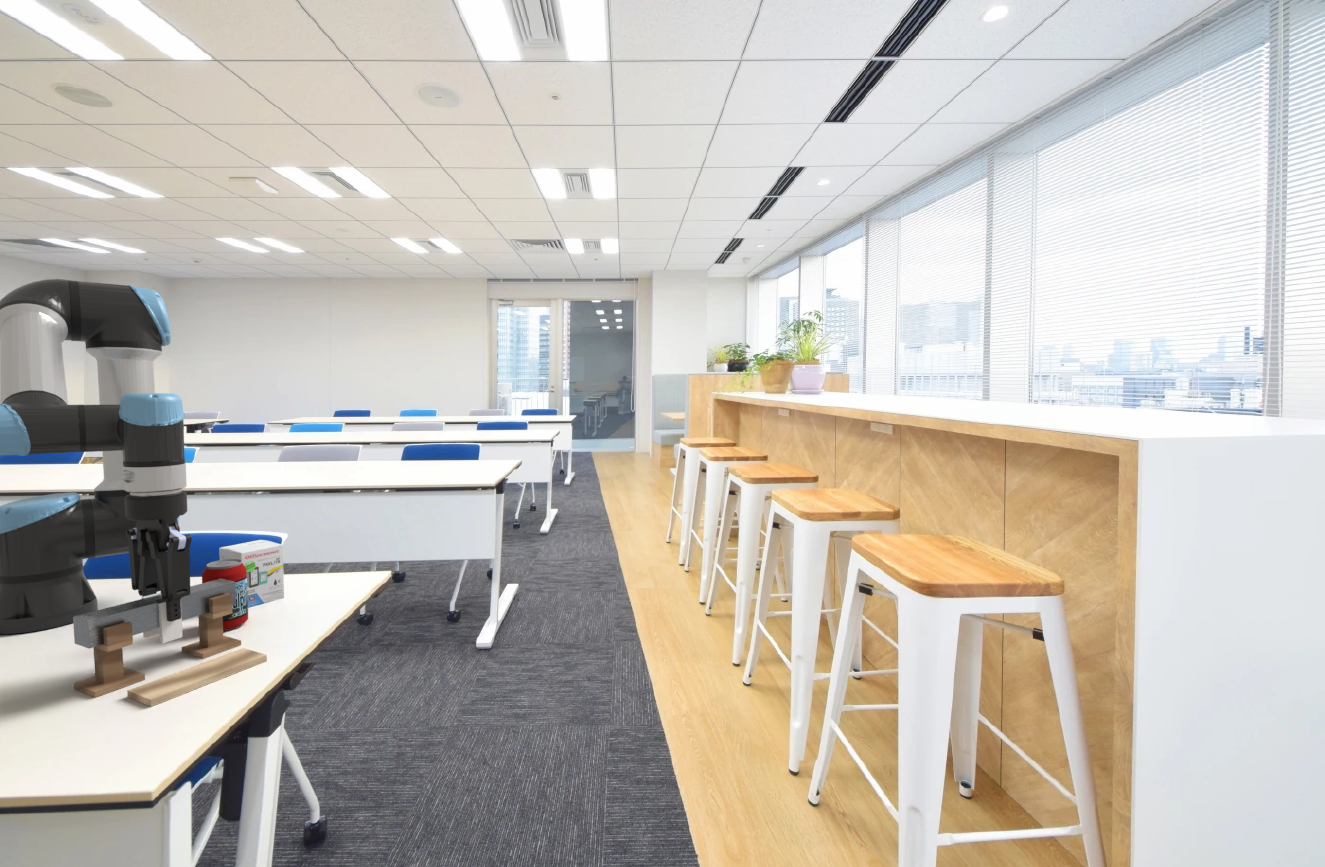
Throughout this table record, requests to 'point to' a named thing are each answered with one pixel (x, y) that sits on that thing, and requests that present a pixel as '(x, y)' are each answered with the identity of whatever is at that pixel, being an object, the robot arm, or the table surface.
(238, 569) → the beverage can
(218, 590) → the rail
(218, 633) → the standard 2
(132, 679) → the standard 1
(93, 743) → the table surface
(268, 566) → the ink box
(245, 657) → the light wooden board
